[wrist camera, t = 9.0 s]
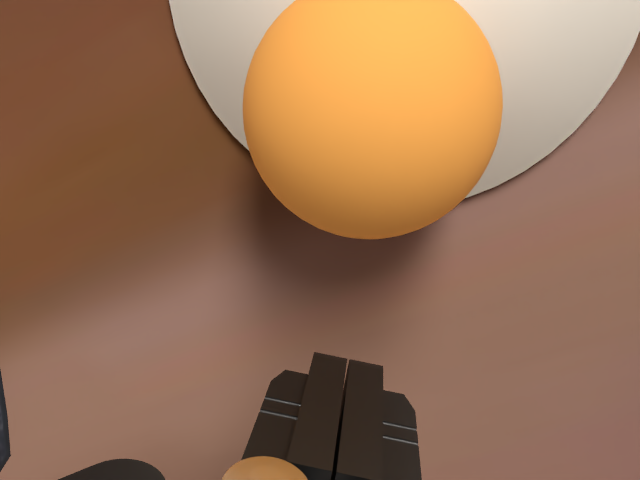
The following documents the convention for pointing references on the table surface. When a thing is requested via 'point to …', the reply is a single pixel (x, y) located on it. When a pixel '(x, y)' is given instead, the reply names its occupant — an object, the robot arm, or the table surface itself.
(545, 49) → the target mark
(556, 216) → the table surface
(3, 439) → the wallet
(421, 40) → the ball
